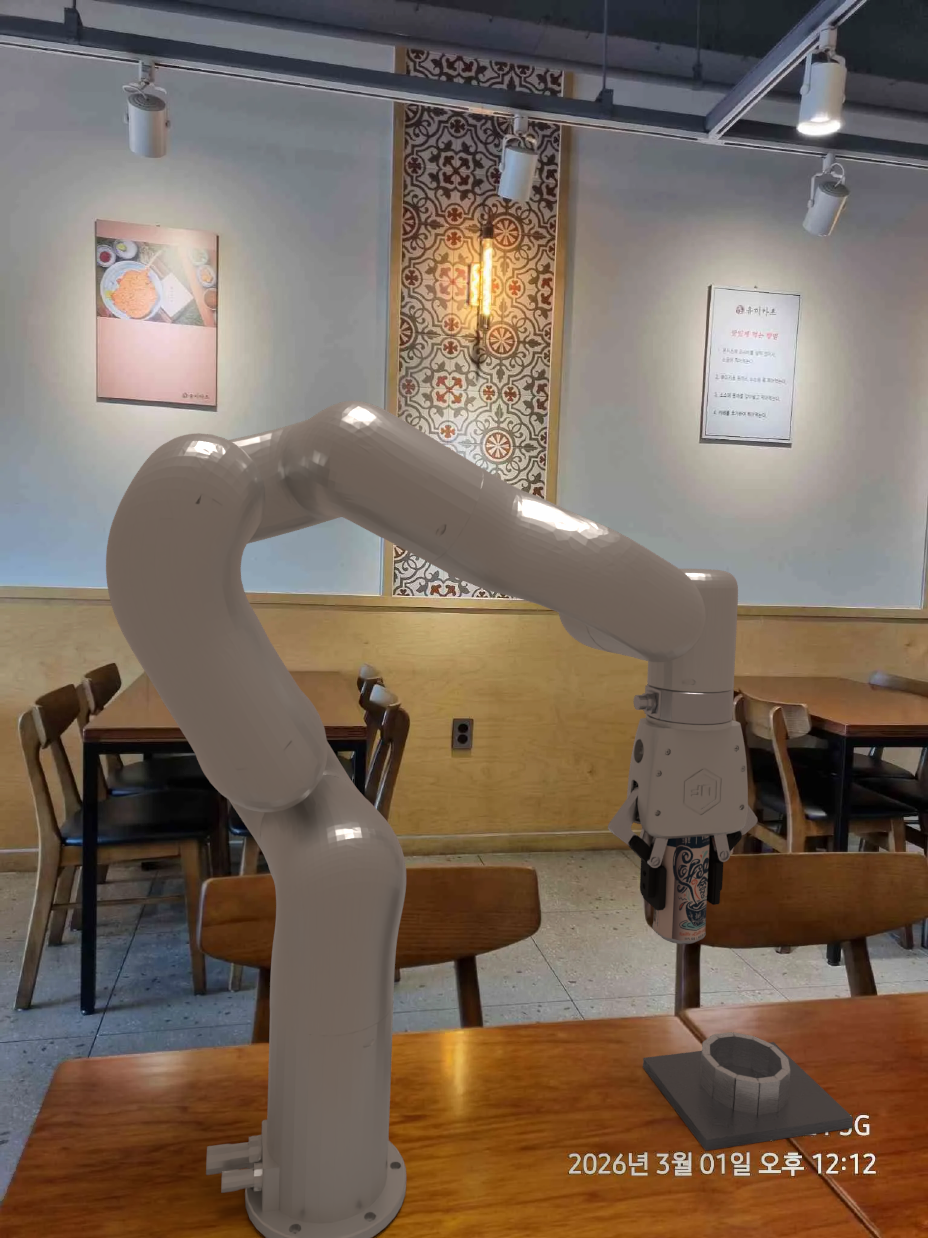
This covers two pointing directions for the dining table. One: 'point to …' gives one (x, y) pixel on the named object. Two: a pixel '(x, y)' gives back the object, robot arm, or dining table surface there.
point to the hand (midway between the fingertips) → (680, 899)
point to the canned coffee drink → (684, 890)
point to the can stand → (744, 1093)
